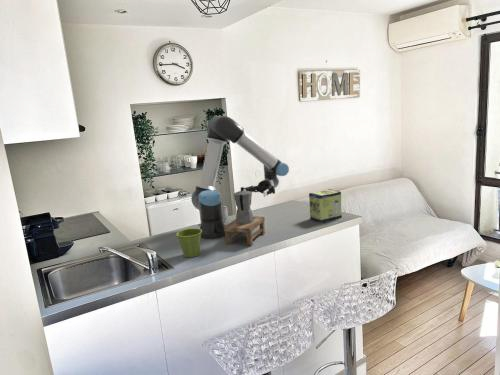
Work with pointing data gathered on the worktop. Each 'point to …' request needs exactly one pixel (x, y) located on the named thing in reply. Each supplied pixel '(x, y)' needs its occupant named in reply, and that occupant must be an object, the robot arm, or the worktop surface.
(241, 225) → the stool
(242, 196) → the coffeepot
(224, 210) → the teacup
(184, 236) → the plant pot
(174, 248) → the worktop surface
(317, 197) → the protein box
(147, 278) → the worktop surface
